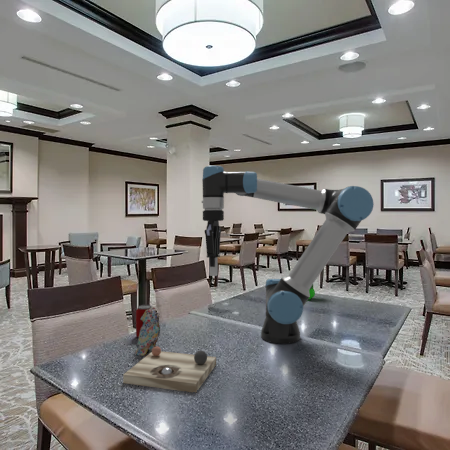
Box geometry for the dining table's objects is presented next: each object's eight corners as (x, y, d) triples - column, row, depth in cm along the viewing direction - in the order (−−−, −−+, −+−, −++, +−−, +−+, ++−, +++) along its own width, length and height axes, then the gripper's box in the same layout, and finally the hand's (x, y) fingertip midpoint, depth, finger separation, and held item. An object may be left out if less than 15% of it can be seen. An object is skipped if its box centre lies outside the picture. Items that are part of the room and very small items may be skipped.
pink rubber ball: (162, 354, 117) (162, 345, 117) (158, 358, 114) (158, 348, 114) (154, 353, 118) (154, 344, 118) (150, 357, 115) (149, 347, 115)
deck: (153, 357, 121) (153, 350, 120) (216, 364, 115) (216, 357, 115) (123, 383, 102) (123, 374, 102) (196, 392, 96) (195, 383, 96)
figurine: (133, 348, 129) (132, 307, 129) (157, 344, 133) (157, 304, 133) (137, 356, 121) (136, 312, 121) (163, 352, 125) (162, 310, 125)
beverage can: (149, 340, 138) (149, 309, 138) (133, 339, 139) (132, 308, 139) (156, 334, 144) (156, 304, 144) (140, 333, 146) (140, 304, 146)
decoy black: (208, 362, 111) (208, 349, 111) (204, 367, 107) (204, 354, 107) (196, 360, 112) (196, 348, 112) (192, 366, 108) (192, 352, 108)
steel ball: (173, 380, 105) (174, 368, 106) (170, 379, 102) (171, 366, 104) (162, 380, 105) (163, 368, 107) (158, 379, 102) (159, 366, 104)
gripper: (208, 210, 135) (208, 272, 136) (197, 209, 123) (197, 278, 123) (228, 210, 133) (228, 273, 134) (218, 209, 121) (218, 279, 121)
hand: (213, 275), depth 129 cm, fingers closed
